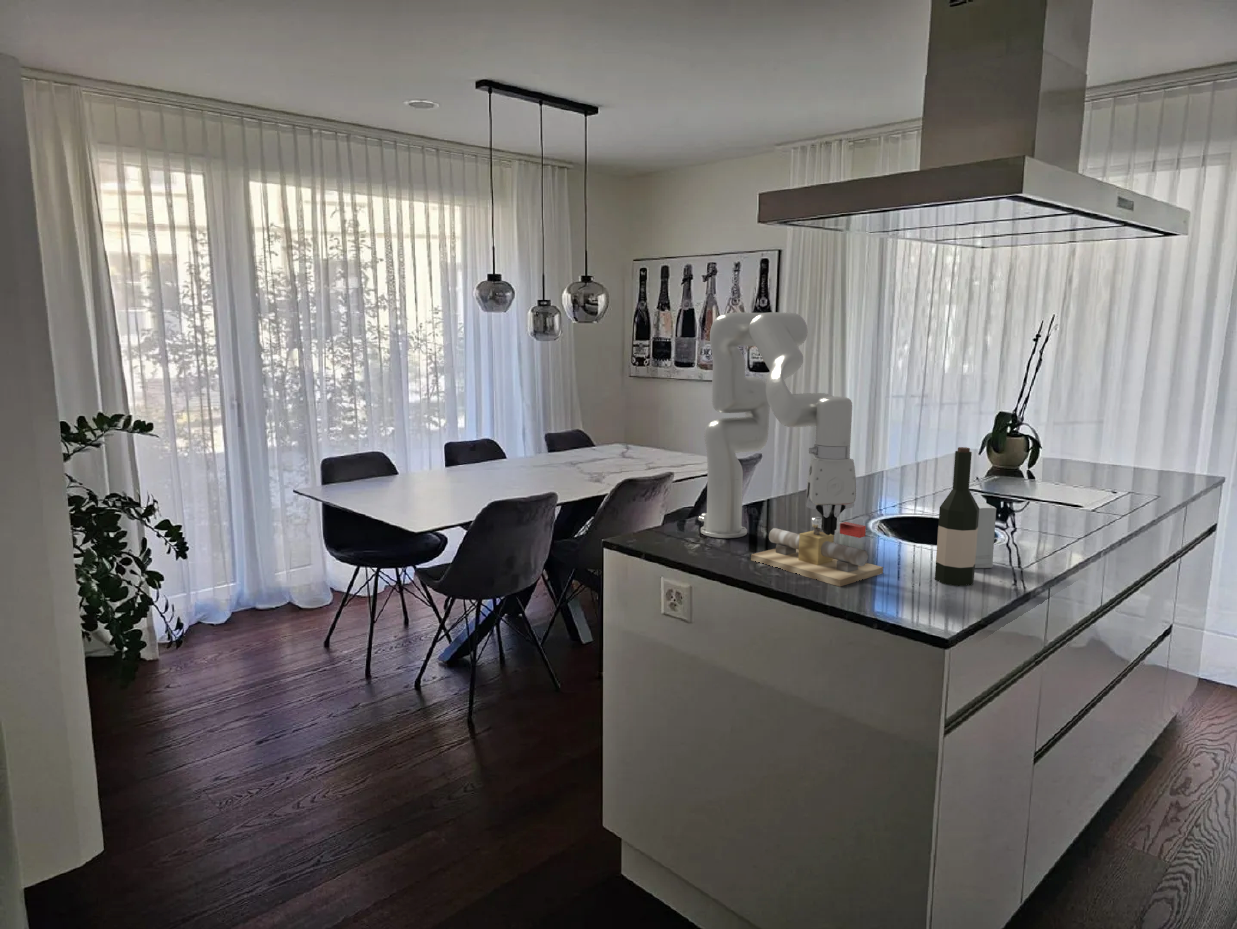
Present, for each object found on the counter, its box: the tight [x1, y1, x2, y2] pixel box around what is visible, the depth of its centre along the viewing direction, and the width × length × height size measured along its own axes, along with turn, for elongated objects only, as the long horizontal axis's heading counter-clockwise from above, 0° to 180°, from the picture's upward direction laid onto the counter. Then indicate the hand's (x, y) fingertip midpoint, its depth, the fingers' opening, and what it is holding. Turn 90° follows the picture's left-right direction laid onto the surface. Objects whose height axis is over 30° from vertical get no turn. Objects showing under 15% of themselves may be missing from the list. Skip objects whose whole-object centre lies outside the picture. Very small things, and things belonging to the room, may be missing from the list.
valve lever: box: [810, 516, 867, 539], centre depth 190 cm, size 3×14×2 cm, turn 41°
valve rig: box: [750, 527, 884, 587], centre depth 195 cm, size 26×16×10 cm, turn 38°
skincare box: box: [975, 501, 997, 569], centre depth 196 cm, size 8×6×15 cm
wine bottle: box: [934, 446, 979, 587], centre depth 183 cm, size 8×8×30 cm
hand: (828, 533), depth 186 cm, fingers closed
